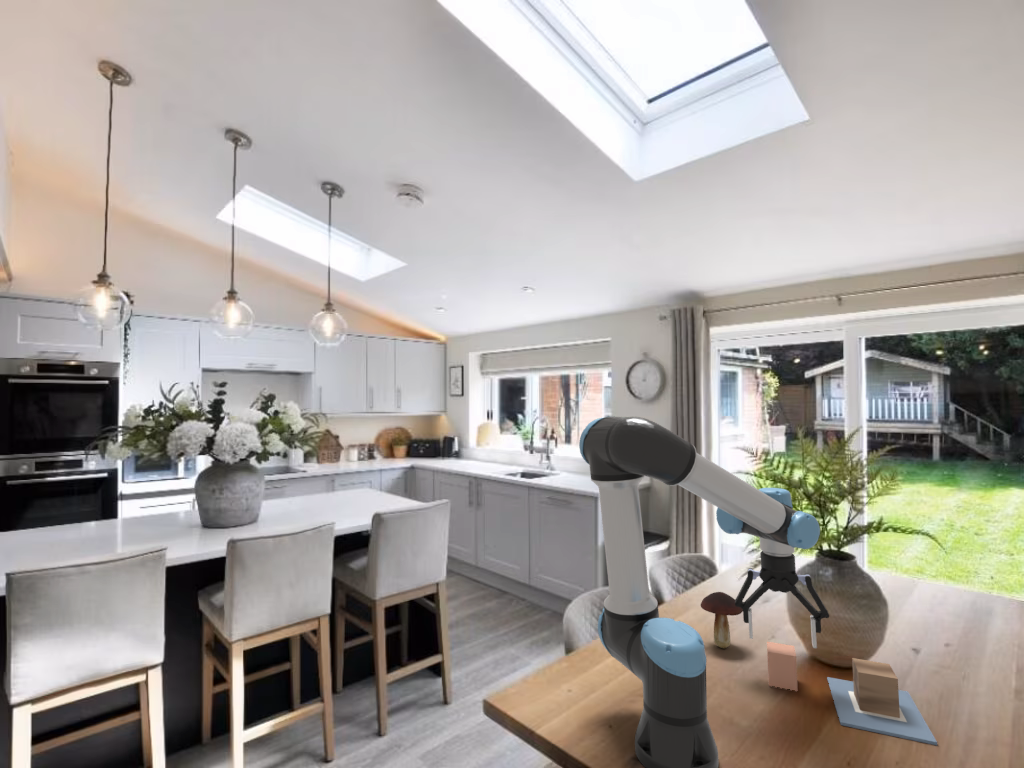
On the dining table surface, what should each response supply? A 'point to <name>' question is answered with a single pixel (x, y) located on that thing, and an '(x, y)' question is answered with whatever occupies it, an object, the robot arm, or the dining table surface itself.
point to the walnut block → (876, 687)
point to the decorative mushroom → (721, 615)
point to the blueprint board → (880, 715)
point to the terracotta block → (782, 666)
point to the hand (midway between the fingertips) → (782, 641)
